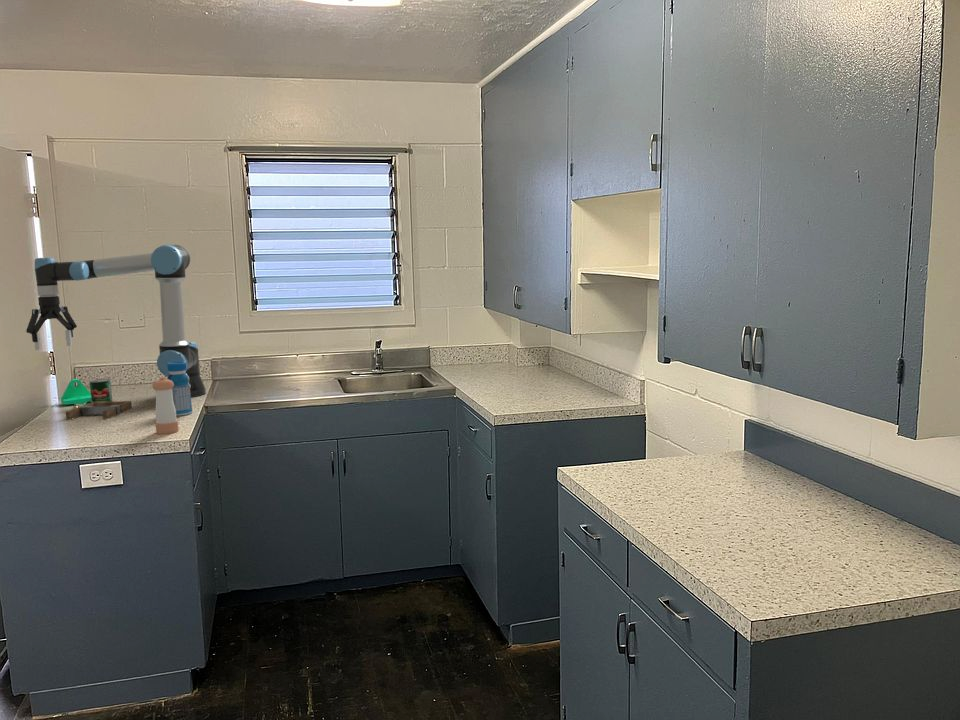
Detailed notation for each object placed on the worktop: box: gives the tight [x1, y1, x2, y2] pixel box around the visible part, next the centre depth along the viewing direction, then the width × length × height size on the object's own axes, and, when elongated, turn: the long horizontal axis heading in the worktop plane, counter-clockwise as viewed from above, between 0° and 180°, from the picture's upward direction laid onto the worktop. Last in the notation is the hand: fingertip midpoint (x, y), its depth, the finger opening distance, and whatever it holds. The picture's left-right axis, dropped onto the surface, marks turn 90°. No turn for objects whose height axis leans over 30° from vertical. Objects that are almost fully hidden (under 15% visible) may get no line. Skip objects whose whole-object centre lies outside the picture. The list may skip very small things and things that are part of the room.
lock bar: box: [72, 405, 121, 416], centre depth 311 cm, size 18×3×3 cm, turn 88°
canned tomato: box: [88, 378, 114, 402], centre depth 327 cm, size 8×8×11 cm
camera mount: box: [60, 378, 92, 406], centre depth 335 cm, size 12×8×10 cm, turn 128°
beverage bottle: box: [166, 361, 193, 417], centre depth 305 cm, size 8×8×20 cm
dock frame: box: [65, 400, 133, 420], centre depth 312 cm, size 16×20×3 cm
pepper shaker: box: [151, 377, 180, 435], centre depth 276 cm, size 7×7×19 cm
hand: (54, 347), depth 326 cm, fingers open, 13 cm apart
